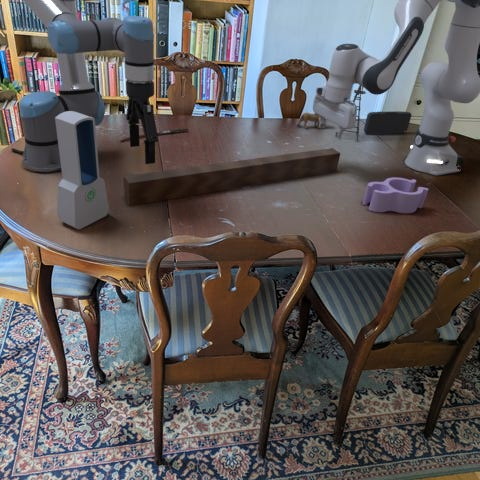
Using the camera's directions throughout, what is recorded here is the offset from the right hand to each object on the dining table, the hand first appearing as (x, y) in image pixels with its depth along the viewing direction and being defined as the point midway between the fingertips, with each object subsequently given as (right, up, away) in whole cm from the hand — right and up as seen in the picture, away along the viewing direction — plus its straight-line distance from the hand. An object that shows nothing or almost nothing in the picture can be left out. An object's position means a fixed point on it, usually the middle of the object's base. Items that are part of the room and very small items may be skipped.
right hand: (329, 132), depth 169 cm
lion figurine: (+1, +14, +49) cm, 51 cm away
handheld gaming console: (+36, +11, +51) cm, 64 cm away
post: (-32, -19, -8) cm, 38 cm away
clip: (+19, -27, -11) cm, 35 cm away
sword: (-67, +3, +22) cm, 71 cm away
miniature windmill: (+16, +8, +42) cm, 46 cm away
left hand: (-61, -14, -32) cm, 70 cm away
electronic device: (-77, -33, -36) cm, 91 cm away
